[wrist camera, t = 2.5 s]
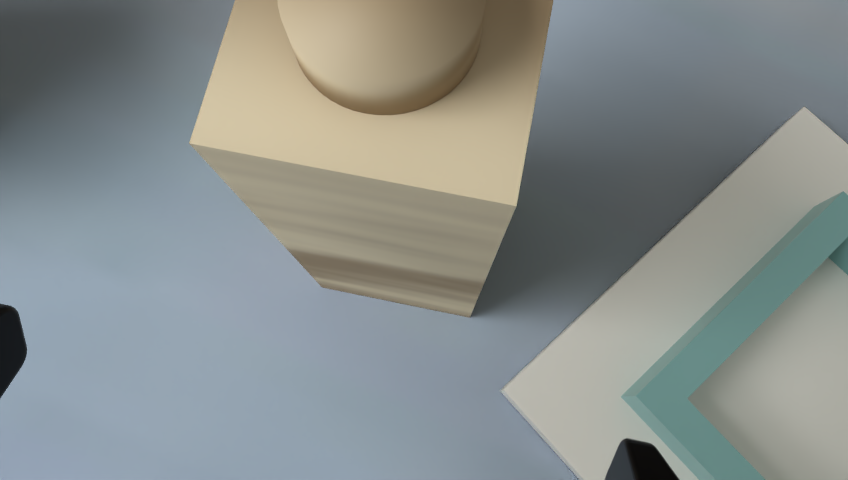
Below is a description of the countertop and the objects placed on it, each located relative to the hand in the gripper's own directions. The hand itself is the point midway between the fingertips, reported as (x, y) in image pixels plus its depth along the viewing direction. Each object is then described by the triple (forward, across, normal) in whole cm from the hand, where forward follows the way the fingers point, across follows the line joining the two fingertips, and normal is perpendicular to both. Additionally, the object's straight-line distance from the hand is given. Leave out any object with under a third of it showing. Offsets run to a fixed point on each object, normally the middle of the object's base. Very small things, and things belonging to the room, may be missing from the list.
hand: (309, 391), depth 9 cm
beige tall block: (+12, 0, +4) cm, 13 cm away
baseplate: (+10, -14, +6) cm, 18 cm away
